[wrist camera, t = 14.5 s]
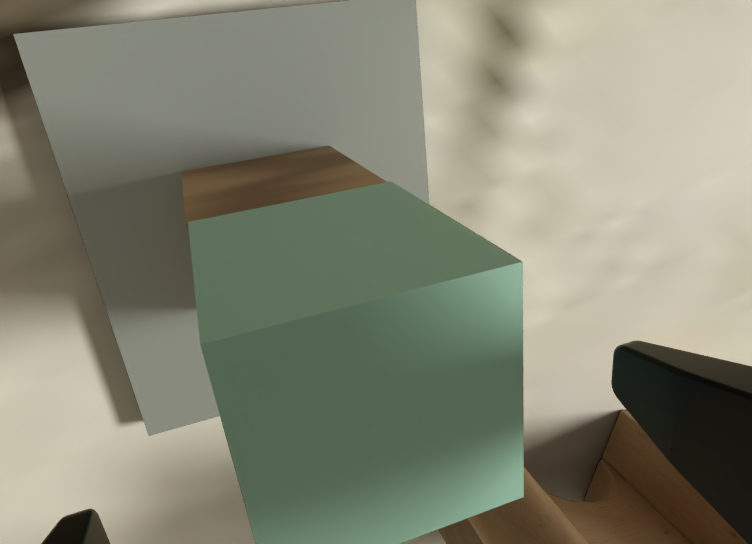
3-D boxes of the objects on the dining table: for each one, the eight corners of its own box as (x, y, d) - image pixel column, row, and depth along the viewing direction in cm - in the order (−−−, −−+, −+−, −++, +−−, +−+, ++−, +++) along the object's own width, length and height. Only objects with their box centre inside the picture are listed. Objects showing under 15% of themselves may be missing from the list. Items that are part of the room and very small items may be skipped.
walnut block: (329, 146, 19) (389, 183, 14) (348, 276, 21) (406, 351, 16) (180, 171, 18) (185, 222, 13) (215, 307, 20) (230, 400, 15)
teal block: (391, 181, 14) (522, 261, 9) (408, 349, 16) (523, 496, 11) (188, 221, 13) (200, 344, 8) (234, 399, 15) (270, 593, 10)
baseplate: (404, -4, 19) (415, -7, 18) (429, 342, 25) (439, 353, 24) (21, 35, 16) (13, 33, 15) (149, 420, 22) (148, 436, 21)
